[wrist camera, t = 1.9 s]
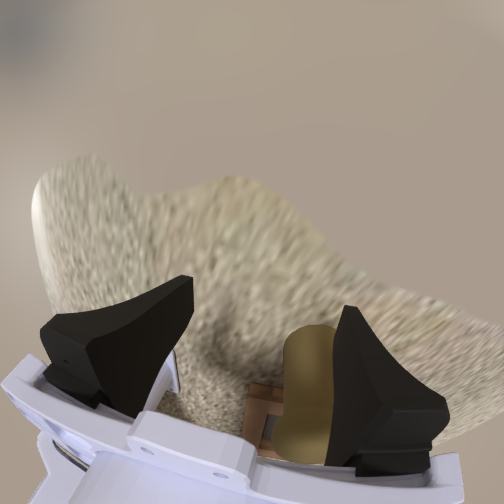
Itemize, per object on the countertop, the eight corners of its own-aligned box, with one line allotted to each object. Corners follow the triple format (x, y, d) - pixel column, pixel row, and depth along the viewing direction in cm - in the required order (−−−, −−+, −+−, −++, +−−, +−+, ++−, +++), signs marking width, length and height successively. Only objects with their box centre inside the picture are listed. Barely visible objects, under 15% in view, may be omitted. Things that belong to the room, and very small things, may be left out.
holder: (242, 440, 34) (238, 451, 33) (250, 382, 28) (246, 396, 26) (341, 454, 32) (340, 465, 30) (383, 400, 26) (385, 414, 24)
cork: (330, 377, 26) (324, 476, 16) (274, 360, 26) (249, 461, 16) (361, 336, 23) (370, 447, 13) (298, 315, 23) (280, 429, 13)
